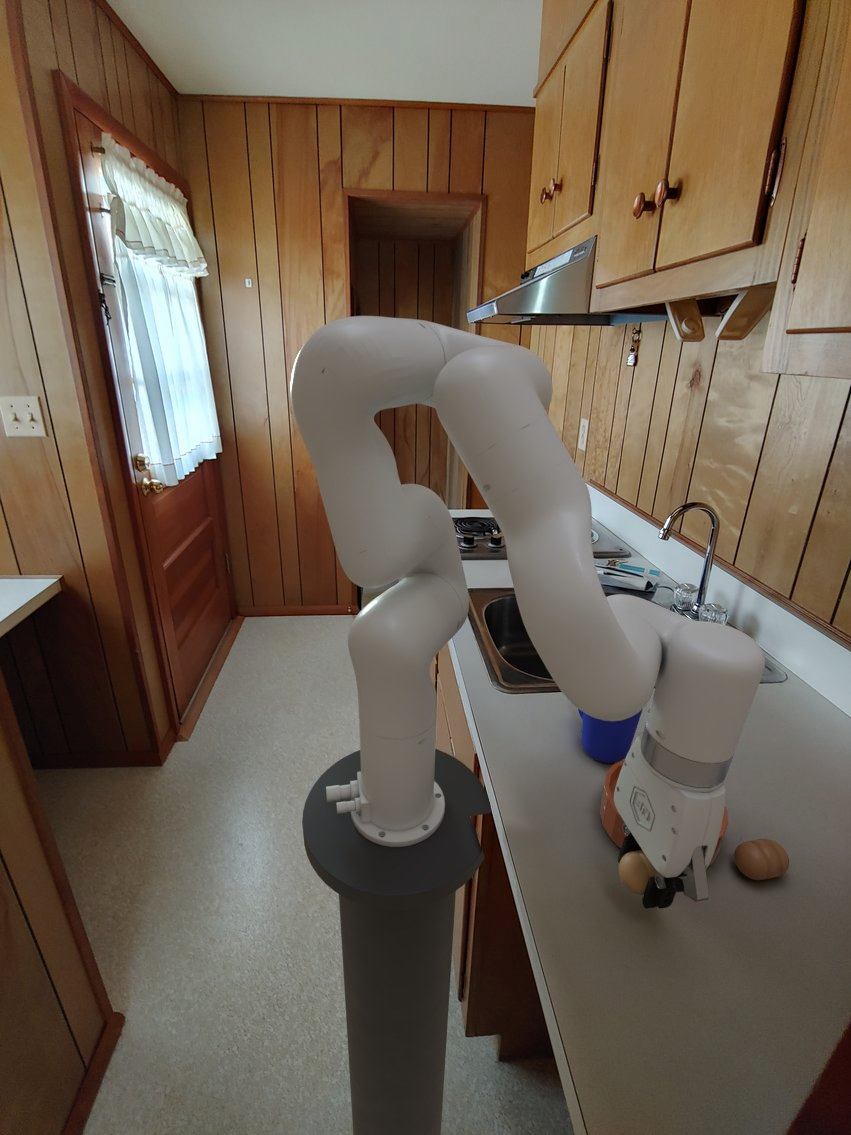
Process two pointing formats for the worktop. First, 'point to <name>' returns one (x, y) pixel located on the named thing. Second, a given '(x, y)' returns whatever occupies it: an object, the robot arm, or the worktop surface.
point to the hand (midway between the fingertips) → (643, 881)
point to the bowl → (615, 821)
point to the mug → (608, 737)
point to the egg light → (636, 871)
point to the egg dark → (761, 859)
